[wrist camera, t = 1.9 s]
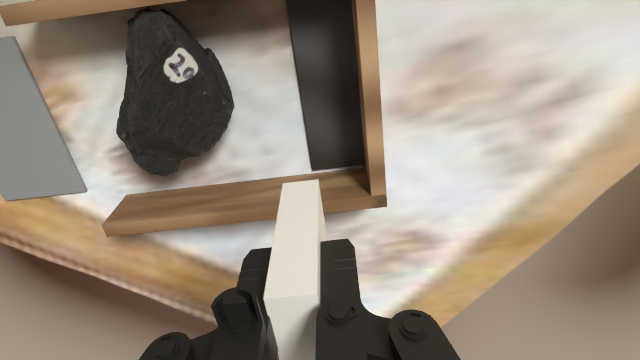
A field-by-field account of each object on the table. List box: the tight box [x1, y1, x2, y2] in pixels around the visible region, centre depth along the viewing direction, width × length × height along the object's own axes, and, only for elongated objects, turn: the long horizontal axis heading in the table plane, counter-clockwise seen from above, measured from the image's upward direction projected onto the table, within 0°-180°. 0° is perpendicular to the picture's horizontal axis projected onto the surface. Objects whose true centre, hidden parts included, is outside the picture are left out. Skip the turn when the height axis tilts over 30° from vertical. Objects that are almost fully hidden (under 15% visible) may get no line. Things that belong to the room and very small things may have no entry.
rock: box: [116, 7, 234, 176], centre depth 31 cm, size 8×11×10 cm
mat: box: [0, 36, 87, 201], centre depth 35 cm, size 14×8×1 cm, turn 7°
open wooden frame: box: [0, 0, 387, 237], centre depth 32 cm, size 18×24×5 cm
